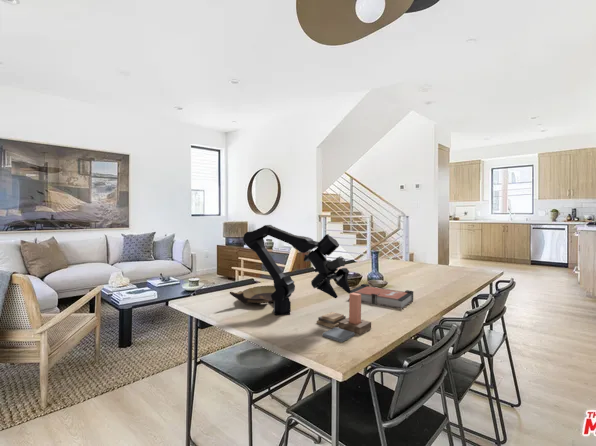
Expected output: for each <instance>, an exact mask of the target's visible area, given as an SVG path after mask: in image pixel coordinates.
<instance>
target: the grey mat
mask: <svg viewBox="0 0 596 446" xmlns="http://www.w3.org/2000/svg"><path fill="white" fill-rule="evenodd" d="M322 337H323V338H328V339H330V340H334V341H337V342H339V343H344V342H345V341H347V340H349V339H351V338H353V337H355V333H354V332H351V331H347V330H344V329H340V328H339V327H335V328H331V329H329V330H326V331H324V332H322Z"/></svg>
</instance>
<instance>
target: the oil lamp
mask: <svg viewBox="0 0 596 446" xmlns="http://www.w3.org/2000/svg"><path fill="white" fill-rule="evenodd" d="M275 291H276V290H275V287H274V285H259V286H253V287H249V288H246V289H244V290H242V291H237V292H233V291H229V294H230V295H231V296H232V297H233V298H235V299H236V300H237V301H240V303H242V304H246V303H252V304H268V303H272V302H273V303H274V300H272V298H271V295H272V294H273V293H274V292H275Z"/></svg>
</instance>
